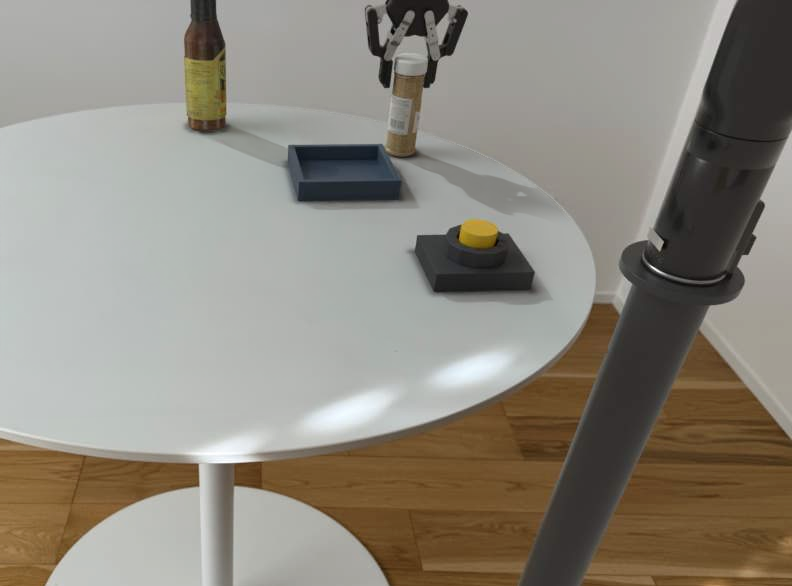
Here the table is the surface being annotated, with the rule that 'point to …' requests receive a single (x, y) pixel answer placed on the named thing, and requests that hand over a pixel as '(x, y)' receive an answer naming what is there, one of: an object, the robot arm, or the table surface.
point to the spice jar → (405, 103)
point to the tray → (343, 172)
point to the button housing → (472, 263)
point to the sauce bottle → (205, 68)
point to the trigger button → (478, 234)
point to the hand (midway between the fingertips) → (405, 85)
